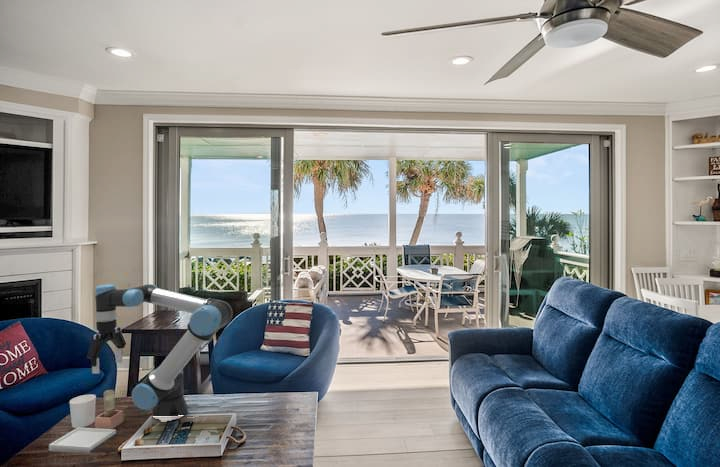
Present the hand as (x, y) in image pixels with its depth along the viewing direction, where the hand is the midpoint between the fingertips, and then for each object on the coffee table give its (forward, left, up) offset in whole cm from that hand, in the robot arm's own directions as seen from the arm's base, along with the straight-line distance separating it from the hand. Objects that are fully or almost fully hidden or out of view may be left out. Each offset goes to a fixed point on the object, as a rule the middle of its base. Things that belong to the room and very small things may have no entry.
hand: (107, 367), depth 178 cm
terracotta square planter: (0, 0, -27) cm, 27 cm away
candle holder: (+13, 0, -27) cm, 30 cm away
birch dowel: (0, 0, -26) cm, 26 cm away
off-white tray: (+1, +13, -27) cm, 30 cm away
